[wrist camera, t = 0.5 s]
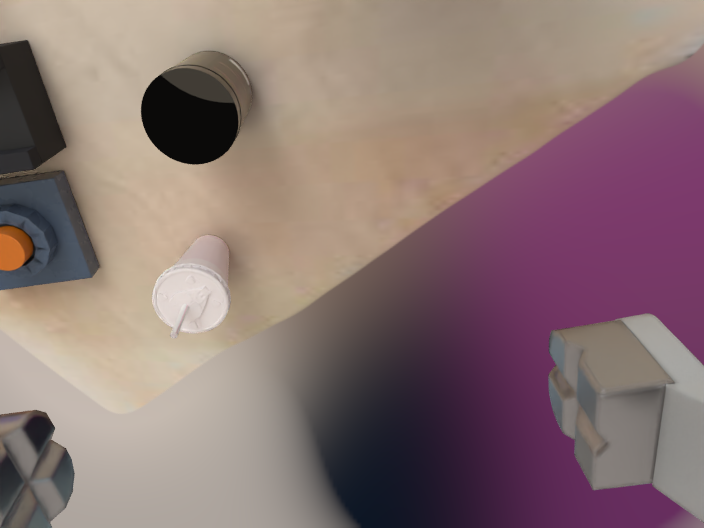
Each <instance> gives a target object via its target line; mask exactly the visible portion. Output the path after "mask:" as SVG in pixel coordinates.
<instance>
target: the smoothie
mask: <svg viewBox="0 0 704 528" xmlns="http://www.w3.org/2000/svg"><path fill="white" fill-rule="evenodd" d="M228 271H229V249H228V246H227V244H226V243H225V242H224V241H223V240H222V239H221V238H219V237H217V236H213V235H204V236H201V237H199V238H197V239H196V240H195V241H194V242H193V243H192V245H191V246H190V247H189V248H188V249H187V250H186V252H185V253H184V254H183V255H182V256H181V257H180V259H179V260H178V261H177V262H176V263H175V264H174V266H172V267H171V268H169V269H167V270H165V271H164V272H163V273H162V274H161V275H160V276H159V278H158V280H157V282H156V284H155V287H154V289H153V293H152V303H153V307H154V309H155V312H156V313H157V315H158V316H159V318H160V319H161V320H162V321H163V322H164V323H166V324H167V325H168V326H170V327H171V328H173V329H172V331H171V334H170V336H171V338H177V336H178V334H179V331H181V332H185V333H203V332H207V331H209V330H212V329H214V328H215V327H217V326H218V325H219V324H220V323H221V322H222V321H223V320H224V318H225V317H226V315H227V312H228V310H229V308H230V303H231V296H230V290H229V288H228Z"/></svg>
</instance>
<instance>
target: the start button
mask: <svg viewBox="0 0 704 528" xmlns="http://www.w3.org/2000/svg"><path fill="white" fill-rule="evenodd" d="M33 249H34V248H33V243H32V240H31V238H30V237H29V236H28V235H27V234H26V233H25V232H24V231H22V230H21V229H19V228H16V227H13V226H2V227H0V270H5V271H12V270H16V269H18V268H20V267H21V266H22V265H23V264H24V263H25V262H26V261H27V260H28V259H29V258H30V257H31V256H32V254H33Z"/></svg>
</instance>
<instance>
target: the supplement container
mask: <svg viewBox="0 0 704 528" xmlns="http://www.w3.org/2000/svg"><path fill="white" fill-rule="evenodd" d="M251 103H252V87H251V83H250V80H249V78H248V75H247V74H246V72H245V70H244V69H243V68H242V67H241V65H240V64H239V63H238V62H236V61H235V60H234V59H232V58H231V57H229V56H227V55H225V54H223V53H220V52H215V51H203V52H198V53H195V54H193V55H191V56H189V57H188V58H186V59H185V60H183V61H182V62H180V63H179V64H177V65H176V66H174V67H172V68H170V69H168V70H166V71H165V72H163V73H162V74H161V75H159V76H158V77H157V78H155V79H154V80H153V81H152V82H151V84H150V85H149V86H148V88H147V89H146V91H145V94H144V96H143V100H142V105H141V117H142V122H143V126H144V128H145V131H146V133H147V135H148V137H149V138H150V140H151V141H152V143H153V144H154V145H155V146H156V147H157V148H158V149H159V150H160V151H161V152H162V153H164V154H165V155H167V156H168V157H170V158H172V159H174V160H176V161H179V162H182V163H187V164H204V163H208V162H211V161H214V160H216V159H218V158H219V157H221V156H222V155H224V154H225V153H226V152H227V151H228V150H229V148H230V147H231V146H232V144H233V142H234V141H235V139H236V137H237V135H238V133H239V130H240V127H241V125H242V123H243V121H244V120H245V118H246V116H247V114H248V112H249V109H250V107H251Z"/></svg>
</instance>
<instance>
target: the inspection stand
mask: <svg viewBox="0 0 704 528" xmlns="http://www.w3.org/2000/svg"><path fill="white" fill-rule="evenodd" d="M64 148H66V145H65V142H64V139H63V136H62V134H61V131H60V128H59V125H58V123H57V120H56V117H55V114H54V112H53V109H52V106H51V103H50V101H49V98H48V95H47V93H46V90H45V87H44V84H43V82H42V79H41V76H40V73H39V71H38V68H37V65H36V62H35V60H34V57H33V54H32V51H31V49H30V46H29V43H28V41H27V40H25V41H18V42H11V43H4V44H0V174H5V173H12V172H19V171H26V170H33V169H35V168H37V167H38V166H40V165H41V164H42V163H44V162H45V161H47V160H48V159H50V158H51V157H53V156H54V155H56V154H57V153H58V152H60V151H61V150H63V149H64Z"/></svg>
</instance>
